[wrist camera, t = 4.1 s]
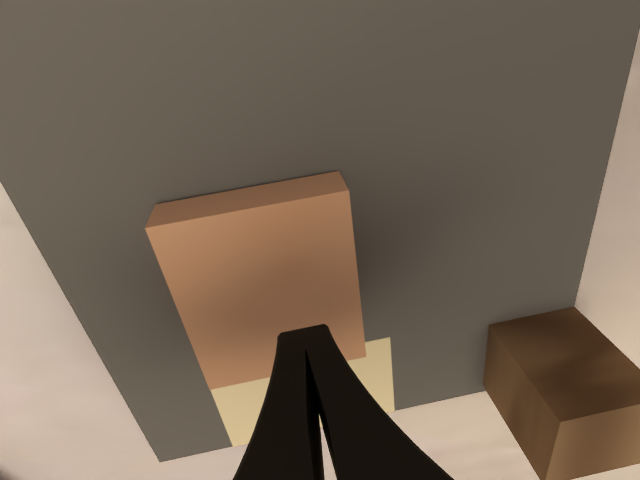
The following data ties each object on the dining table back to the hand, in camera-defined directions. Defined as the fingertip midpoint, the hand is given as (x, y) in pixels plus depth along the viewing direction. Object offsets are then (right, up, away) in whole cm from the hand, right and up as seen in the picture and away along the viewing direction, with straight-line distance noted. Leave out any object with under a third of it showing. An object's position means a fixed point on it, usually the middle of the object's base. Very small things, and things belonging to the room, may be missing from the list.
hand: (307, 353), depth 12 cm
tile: (+2, +2, +3) cm, 4 cm away
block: (+10, -2, +8) cm, 13 cm away
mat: (+1, +3, +4) cm, 5 cm away
